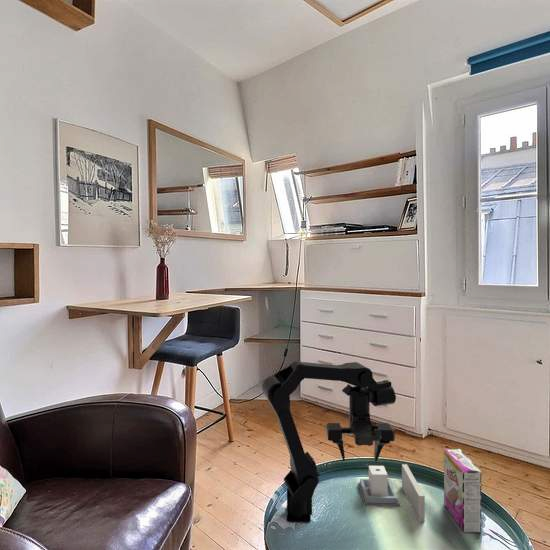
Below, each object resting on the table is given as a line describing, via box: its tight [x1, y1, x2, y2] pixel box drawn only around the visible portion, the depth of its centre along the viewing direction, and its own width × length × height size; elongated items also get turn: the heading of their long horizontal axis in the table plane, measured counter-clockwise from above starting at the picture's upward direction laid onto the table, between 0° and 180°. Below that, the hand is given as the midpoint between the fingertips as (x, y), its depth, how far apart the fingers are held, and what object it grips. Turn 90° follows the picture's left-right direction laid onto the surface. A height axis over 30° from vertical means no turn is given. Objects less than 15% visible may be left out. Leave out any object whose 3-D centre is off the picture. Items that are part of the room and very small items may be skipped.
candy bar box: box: [443, 448, 482, 534], centre depth 98 cm, size 11×5×16 cm, turn 0°
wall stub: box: [401, 464, 426, 522], centre depth 105 cm, size 2×15×7 cm, turn 177°
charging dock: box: [358, 478, 401, 507], centre depth 109 cm, size 10×10×2 cm
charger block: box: [368, 465, 389, 496], centre depth 109 cm, size 4×4×7 cm
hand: (359, 460), depth 106 cm, fingers open, 9 cm apart
